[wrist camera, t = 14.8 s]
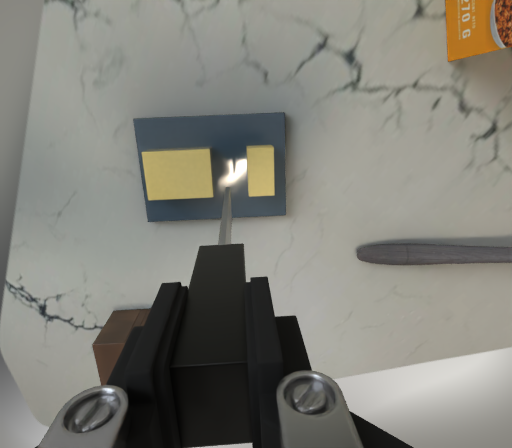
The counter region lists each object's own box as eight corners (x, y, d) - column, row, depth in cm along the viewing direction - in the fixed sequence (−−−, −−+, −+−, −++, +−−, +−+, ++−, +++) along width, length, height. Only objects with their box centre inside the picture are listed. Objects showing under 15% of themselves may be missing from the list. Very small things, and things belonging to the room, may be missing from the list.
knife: (242, 218, 25) (254, 443, 8) (217, 219, 25) (179, 449, 8) (240, 185, 25) (250, 361, 8) (215, 187, 25) (166, 367, 8)
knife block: (123, 361, 41) (104, 402, 36) (113, 310, 39) (92, 344, 33) (182, 358, 42) (173, 397, 36) (176, 306, 39) (165, 340, 34)
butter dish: (150, 219, 36) (141, 229, 33) (136, 118, 33) (124, 119, 30) (284, 212, 36) (289, 222, 33) (283, 112, 33) (288, 112, 30)
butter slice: (248, 190, 35) (248, 196, 32) (246, 145, 33) (246, 148, 31) (272, 190, 35) (274, 195, 32) (271, 144, 33) (273, 147, 31)
